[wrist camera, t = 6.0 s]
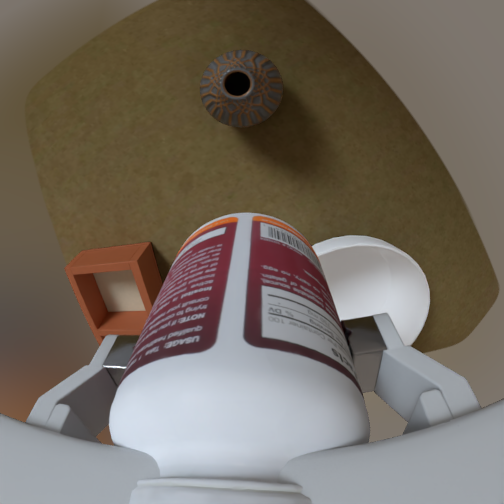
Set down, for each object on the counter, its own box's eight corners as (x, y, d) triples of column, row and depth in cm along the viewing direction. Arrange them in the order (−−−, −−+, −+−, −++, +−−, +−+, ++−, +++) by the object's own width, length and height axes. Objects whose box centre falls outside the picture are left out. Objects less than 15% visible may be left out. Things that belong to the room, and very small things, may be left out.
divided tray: (128, 360, 43) (119, 381, 39) (81, 250, 35) (63, 268, 30) (188, 360, 42) (182, 384, 38) (150, 241, 34) (137, 260, 30)
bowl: (405, 322, 38) (424, 358, 32) (280, 355, 41) (282, 395, 35) (400, 197, 31) (431, 222, 24) (240, 238, 33) (235, 271, 27)
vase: (200, 68, 25) (177, 53, 18) (270, 51, 25) (274, 29, 17) (218, 132, 28) (201, 142, 21) (287, 116, 28) (298, 119, 20)
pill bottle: (190, 333, 15) (138, 555, 5) (165, 213, 12) (-5, 479, 2) (317, 328, 14) (355, 562, 5) (322, 204, 12) (461, 513, 2)
